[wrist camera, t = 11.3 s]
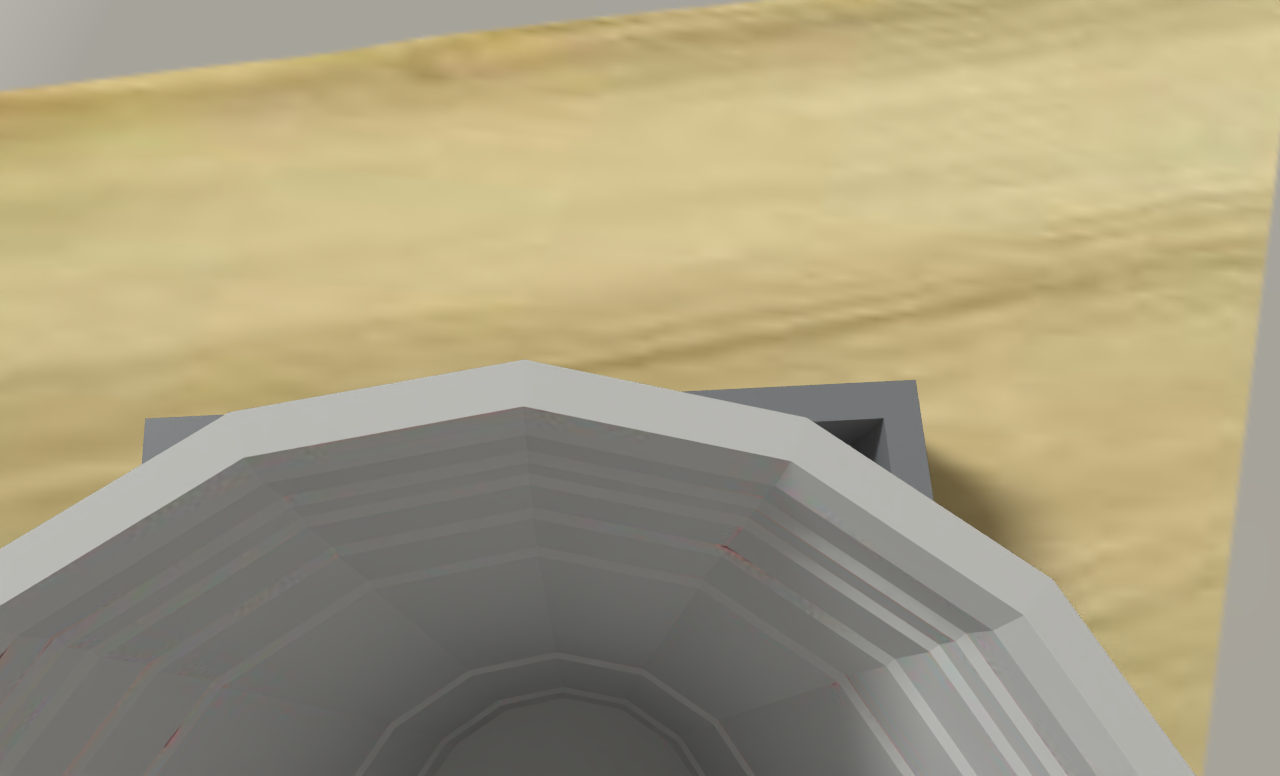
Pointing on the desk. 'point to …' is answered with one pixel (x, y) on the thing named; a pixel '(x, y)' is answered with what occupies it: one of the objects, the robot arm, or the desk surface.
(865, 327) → the desk surface
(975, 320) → the desk surface
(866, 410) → the grey square tray
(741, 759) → the plastic cup
